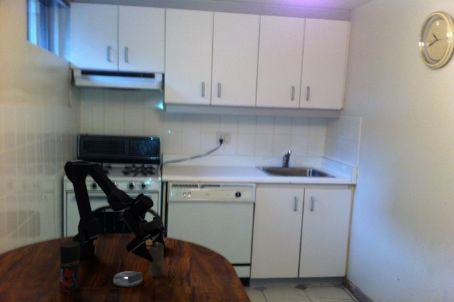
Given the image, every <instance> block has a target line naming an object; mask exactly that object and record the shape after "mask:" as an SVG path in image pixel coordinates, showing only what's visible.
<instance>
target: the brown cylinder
mask: <svg viewBox="0 0 454 302" xmlns="http://www.w3.org/2000/svg"><path fill="white" fill-rule="evenodd" d="M163 252H164V245H163V244H162V243H158V242H156V243H152V244H151V245H150V254H151V256H152V258H153V260H154V261H153V262H150V261H149V276H150V277H151V278H159V277H161V276H163V275H164V273H163V272H164V253H163Z"/></svg>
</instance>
